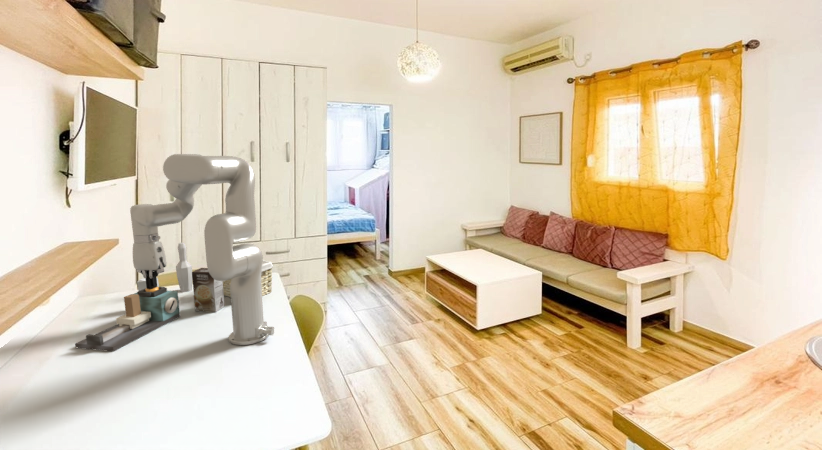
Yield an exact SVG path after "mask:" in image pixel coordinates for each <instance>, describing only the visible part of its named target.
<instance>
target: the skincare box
mask: <svg viewBox="0 0 822 450" xmlns="http://www.w3.org/2000/svg"><path fill="white" fill-rule="evenodd" d="M156 278H157V287H160V286H159V285H160V283H159V278H158V277H156ZM136 284H137V290H138V291H140V290H143V289H146V288H147V287H146V278H144V277H143V278H140V279H139V280H137V282H136ZM138 291H137V292H138Z"/></svg>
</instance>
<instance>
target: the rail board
mask: <svg viewBox="0 0 822 450" xmlns="http://www.w3.org/2000/svg"><path fill="white" fill-rule="evenodd" d="M158 288H159V290H156V291H154V292H146V290H145V289H143V290H140V291H136V292H135V293H133V294H137V295H139V300H140V309H141V311H144V312H151V318H149V321H148V322H146V323H144V324H142V325H140V326H138V327H136V328H134V329H130V325H122V326H120V325H119V324H117V323H116V324H115V325H113V326H111V327H109V328H106V329H104V330H101V331H100V332H97V333H95V334H93V333H92V334H87V335H85V338H84V339H82V340H80V341H77V342H76V343H74V345H75V346H74V347H75V348H76V347H78V348H77V349H82V348H86V349H85V350H93V349H96V350H95V351H104V350H107V352H116V351H117V350H119V349H122V348H123V347H124V346H127V345H129V344H131V343H133V342H135V341H136V340H138V339H140V338H142V337H144V336H146V335H148V334H150V333H151V332H153V331H156V330H157V329H159V328H162V327H163V326H165V325H167V324H169V323H171V322H172V321H173V322H174V321H175V320H177V319H178V318H180V317H181V312H180V302H179V294H178V293H179V291H178V290H177V291H176V290H168V288H167V287H165V286H159V287H158Z"/></svg>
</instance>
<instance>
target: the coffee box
mask: <svg viewBox="0 0 822 450" xmlns="http://www.w3.org/2000/svg"><path fill="white" fill-rule="evenodd" d="M192 279H193V280H192V291H193V302H194V311H195V312H209V313H217V312H219V311H220V310H222V309H223V308H224V307H225V296H224V294H223V281H217V280H215V279H214V278H213V277H212V276H211V275H210V273H209V271H208V268H207V267H200V268H198V269H195V270H194V271H193V270H192Z"/></svg>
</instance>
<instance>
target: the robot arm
mask: <svg viewBox="0 0 822 450" xmlns="http://www.w3.org/2000/svg"><path fill="white" fill-rule="evenodd" d="M162 171H163V173H164V176H165V178H167V179H168V180H167V182H166V185H165V186H166V190H167V192H168V194H169V195H171V196H172V197H173V198H175V200H174V201H173V202H168V203H161V204H160V203H159V204H151V203H150V204H149V203H143V204H142V203H141V204H140V203H139V204H134V205H132V206H131V207H130V208H129V210H130V220H131V228H132V237H133V243H132V263H133V267H134V269H135V271H136V272H137V273H140V274H141V275H142V276H143V278H146V287H147V289H153V288H155V287H157V278H158V276H159V274H162V273H164V272H165V269H164V268H166V267H167V258H166V257H167V256H166V253H165V248H164V245H163V243H162V241H160V240H161V236H160V235H159V227H162V226H167V225H175V224H179V223H181V222H183V221H184V220H185V219H186V218H187V217H188V216H189V215H190V213H192V211H193V209H194V206H195V199H194V198H195V197H194V195H195V194H196V192H197V191H198V190H199V189H200V188H201V186H202V185H215V184H216V185H218V184H230V186H229V187H228V189H227V190H226V194H225V199H224V201H225V212H224V213H218V214H215V215H212V216H210V218H208V220H207V222H206V223H205V225H204V232H203V234H204V235H203V236H204V245H205V248H204V249H205V259H206V268H208V271H209V273H210V275H211V276H212V277H213V278H214V279H215V280H217V281H226V280H230V279H232V280H231V284H230V296H231V297H230V306H231V308H230V309H231V318H232V331H233V332H231V333H230V334H229V335H228V342H229V343H230V344H231V345H232V344H233V345H237V346H246V345H252V344H257V343H260V342H262V341H264V340H266V339H268V337H269V336H274V334H275V327H274V326H268V323H267V321H265V319H264V307H263V296H262V287H261V272H262V264H263V260H264V257H263V256H264V255H263V252H262V250H261V249H260V248H259V246H257V244H254V243H249V242H248V243H240V242H243V241H246V240H249V239H251V238H253V237H254V236H255V235H256V232H257V231H256V230H257V220H256V219H257V214H256V203H255V202H256V201H255V191H256V190H255V189H256V188H255V187H256V176H255V172H254V171H255V170H254V169H253V167H252V166H251V164H250V163H249V162H248V161H246V160H245V159H243V158H241V157H238V156H234V155H233V156H230V155H201V154H198V153H197V154H196V153H192V154H191V153H174V154H171V155H169V156H168V157H167V158H165V160H164V162H163V165H162ZM235 243H239V244H236V245H233V244H235Z"/></svg>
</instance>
